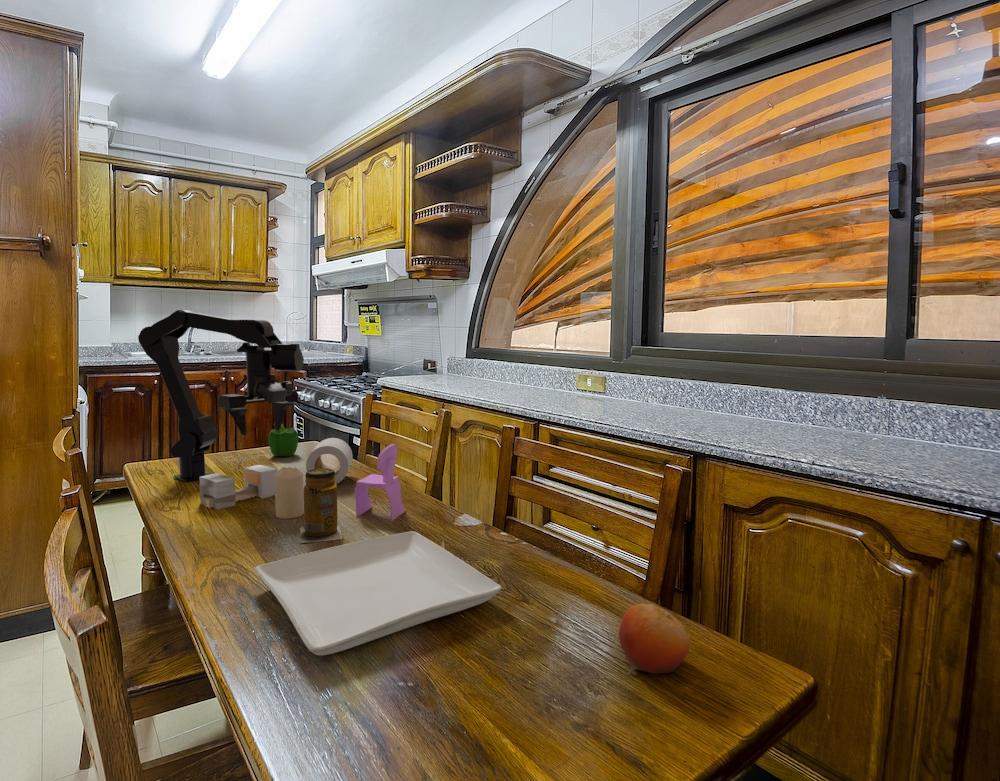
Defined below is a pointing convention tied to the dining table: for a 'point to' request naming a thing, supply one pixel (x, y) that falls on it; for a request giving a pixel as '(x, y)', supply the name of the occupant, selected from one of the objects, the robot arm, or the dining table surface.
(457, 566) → the square plate
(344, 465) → the toilet paper
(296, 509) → the candle
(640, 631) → the fruit
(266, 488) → the white block orange stripe
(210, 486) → the grey block with bar
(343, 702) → the dining table surface
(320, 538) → the condiment
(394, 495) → the toy chair
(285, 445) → the bell pepper
